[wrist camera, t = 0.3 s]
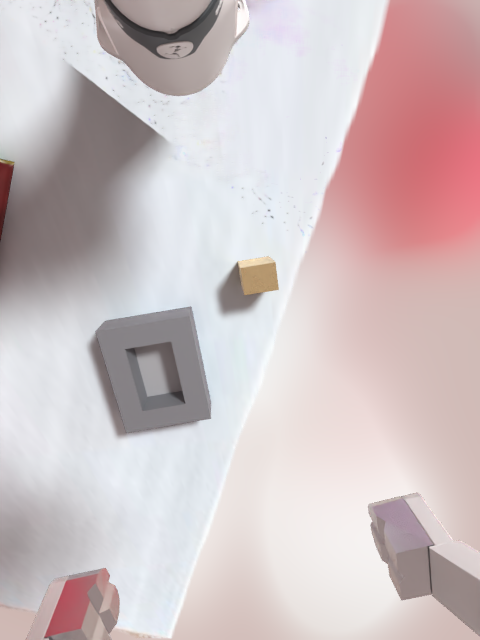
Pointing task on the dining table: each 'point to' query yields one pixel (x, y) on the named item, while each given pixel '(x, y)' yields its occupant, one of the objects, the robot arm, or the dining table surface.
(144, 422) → the well
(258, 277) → the tan block
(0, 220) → the hardcover book
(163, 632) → the dining table surface
